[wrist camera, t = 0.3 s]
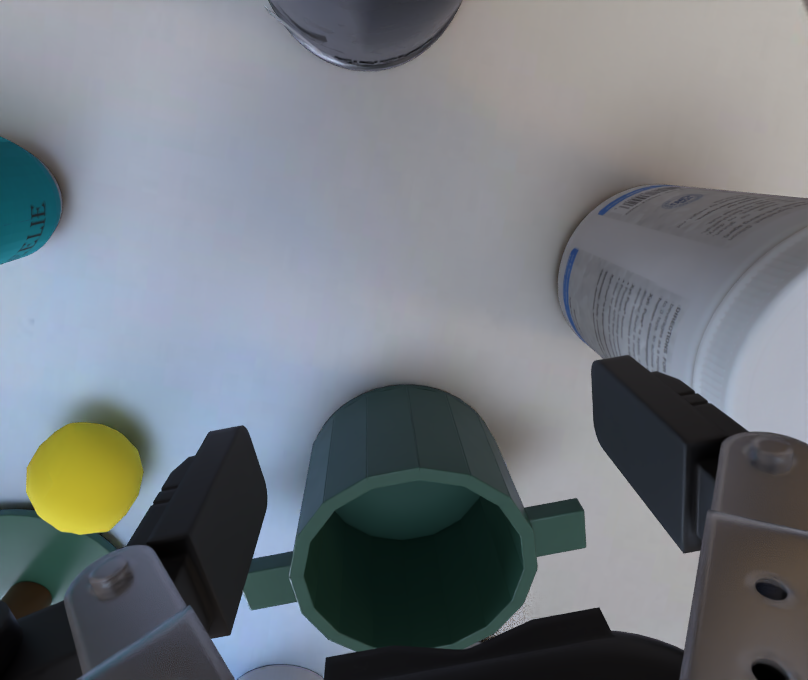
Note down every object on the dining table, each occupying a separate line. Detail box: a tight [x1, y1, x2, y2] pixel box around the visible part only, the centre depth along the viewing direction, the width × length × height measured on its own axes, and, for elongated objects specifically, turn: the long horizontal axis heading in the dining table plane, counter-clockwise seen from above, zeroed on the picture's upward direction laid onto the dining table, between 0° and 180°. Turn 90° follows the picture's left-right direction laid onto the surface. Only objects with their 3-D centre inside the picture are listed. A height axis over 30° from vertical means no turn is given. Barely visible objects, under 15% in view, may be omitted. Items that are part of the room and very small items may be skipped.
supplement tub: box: [558, 184, 808, 444], centre depth 22 cm, size 10×10×15 cm
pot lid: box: [0, 509, 117, 619], centre depth 31 cm, size 13×13×6 cm
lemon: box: [26, 422, 144, 535], centre depth 28 cm, size 7×5×5 cm
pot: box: [243, 385, 586, 652], centre depth 28 cm, size 12×17×8 cm
